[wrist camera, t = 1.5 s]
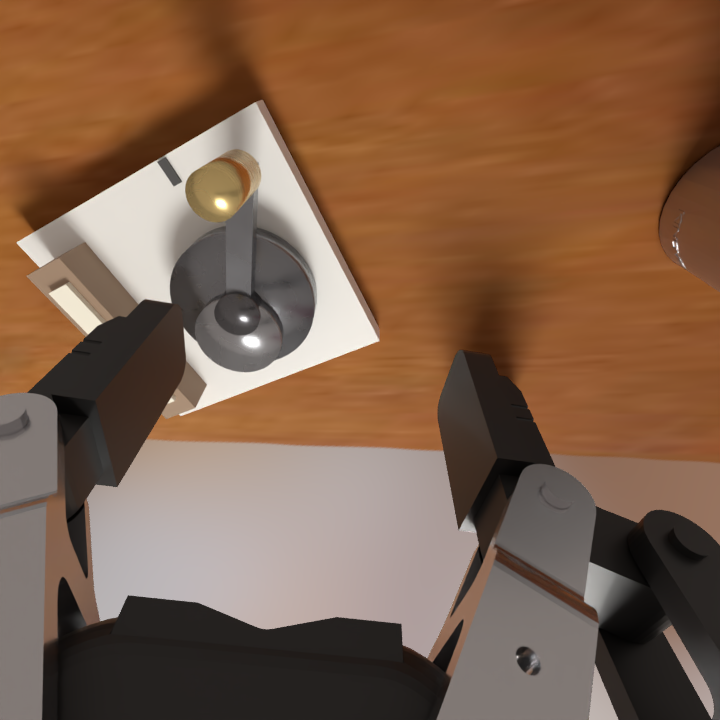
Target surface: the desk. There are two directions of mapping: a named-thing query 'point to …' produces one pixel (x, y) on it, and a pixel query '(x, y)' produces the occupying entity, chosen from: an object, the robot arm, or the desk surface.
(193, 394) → the stand
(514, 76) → the desk surface
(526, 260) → the desk surface
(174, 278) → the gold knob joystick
